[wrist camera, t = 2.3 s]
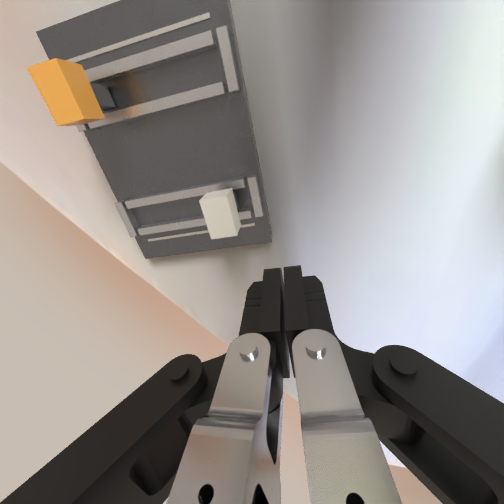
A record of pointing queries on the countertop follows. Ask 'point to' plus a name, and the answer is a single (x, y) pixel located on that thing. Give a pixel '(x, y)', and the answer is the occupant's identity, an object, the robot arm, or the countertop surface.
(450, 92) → the countertop surface
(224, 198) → the white slider knob
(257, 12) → the countertop surface
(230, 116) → the console
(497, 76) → the countertop surface
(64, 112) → the fader orange
